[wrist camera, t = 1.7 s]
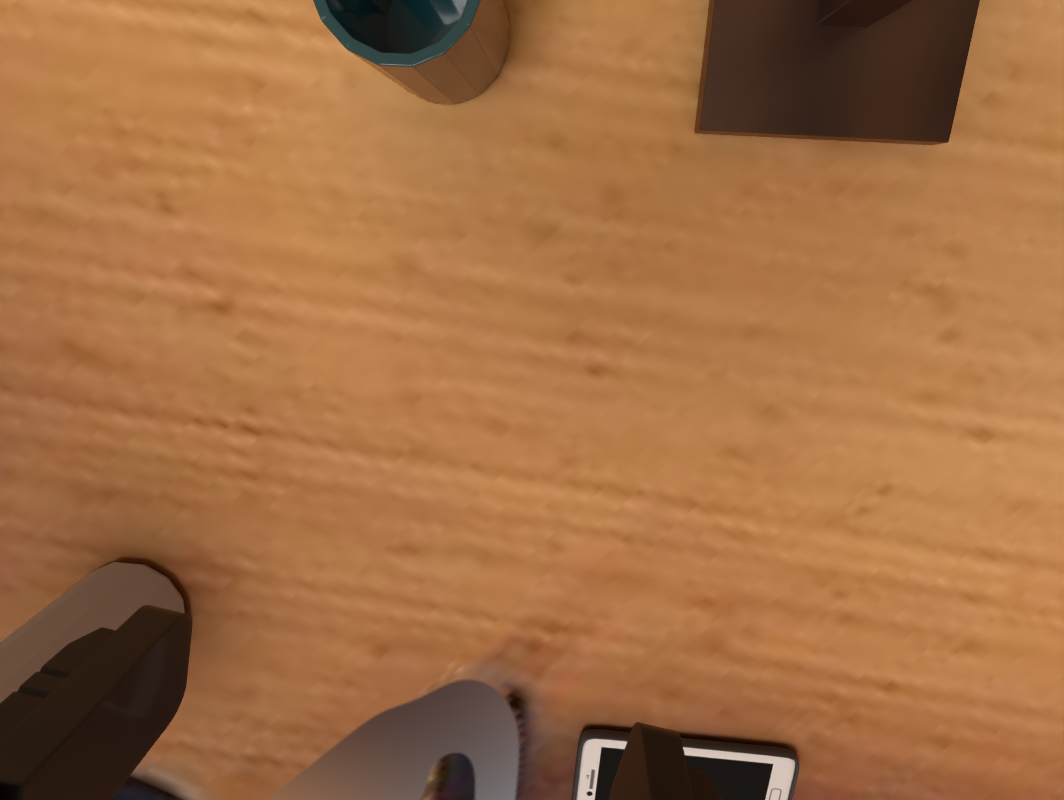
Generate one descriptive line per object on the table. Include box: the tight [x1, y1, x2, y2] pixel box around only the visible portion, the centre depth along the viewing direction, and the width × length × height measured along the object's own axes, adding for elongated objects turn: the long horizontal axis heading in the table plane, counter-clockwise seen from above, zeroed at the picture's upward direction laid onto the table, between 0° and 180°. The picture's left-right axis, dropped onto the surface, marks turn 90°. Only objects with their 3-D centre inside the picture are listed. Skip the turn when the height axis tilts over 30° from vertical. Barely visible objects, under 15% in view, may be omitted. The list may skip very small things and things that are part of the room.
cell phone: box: [572, 729, 799, 800], centre depth 45 cm, size 8×15×1 cm, turn 86°
